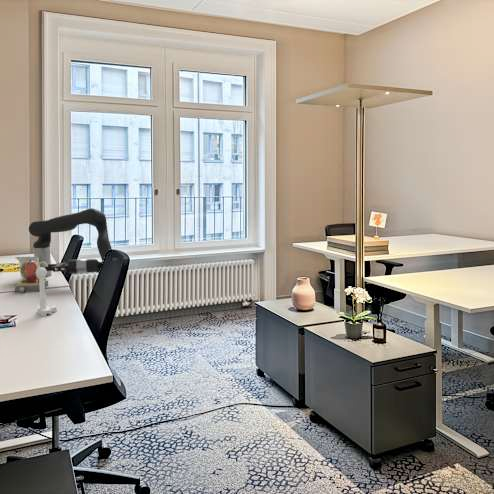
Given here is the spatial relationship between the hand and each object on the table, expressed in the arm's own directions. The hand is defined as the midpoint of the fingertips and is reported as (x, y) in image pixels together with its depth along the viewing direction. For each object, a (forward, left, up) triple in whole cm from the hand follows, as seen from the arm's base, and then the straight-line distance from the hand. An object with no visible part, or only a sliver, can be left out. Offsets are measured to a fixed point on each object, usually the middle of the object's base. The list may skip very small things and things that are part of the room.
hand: (46, 267), depth 272 cm
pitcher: (-25, -13, -11) cm, 30 cm away
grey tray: (+1, -8, -11) cm, 14 cm away
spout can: (0, -8, -8) cm, 11 cm away
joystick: (+54, +10, -11) cm, 56 cm away
